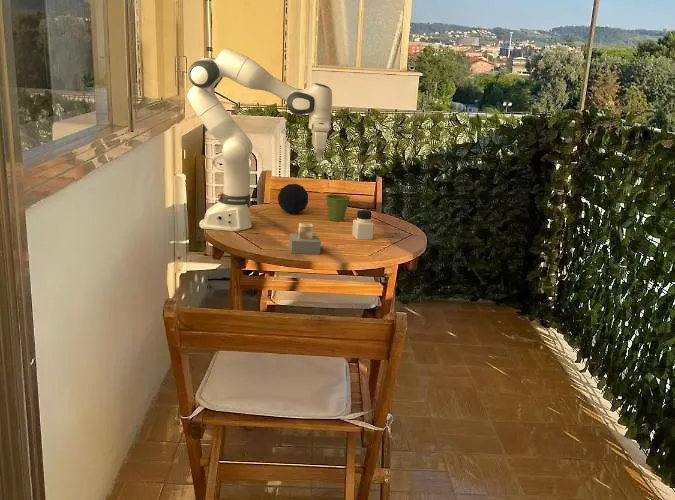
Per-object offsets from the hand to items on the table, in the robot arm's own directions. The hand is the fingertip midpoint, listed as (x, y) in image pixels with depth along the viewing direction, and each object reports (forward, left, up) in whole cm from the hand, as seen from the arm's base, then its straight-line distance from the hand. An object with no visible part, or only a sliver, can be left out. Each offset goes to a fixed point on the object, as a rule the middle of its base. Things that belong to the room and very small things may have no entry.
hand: (317, 158), depth 263 cm
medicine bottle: (+21, -2, -33) cm, 39 cm away
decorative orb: (-6, +39, -33) cm, 51 cm away
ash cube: (-6, -23, -28) cm, 37 cm away
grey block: (-6, -23, -33) cm, 40 cm away
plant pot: (+14, +28, -33) cm, 45 cm away
